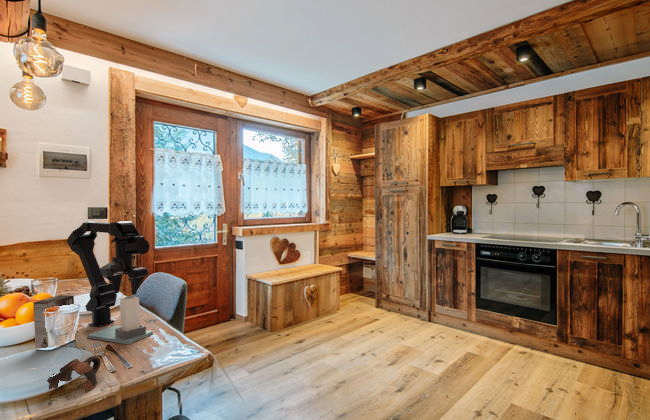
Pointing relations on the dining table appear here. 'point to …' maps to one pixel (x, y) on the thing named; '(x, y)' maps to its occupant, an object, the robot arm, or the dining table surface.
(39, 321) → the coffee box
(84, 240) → the robot arm
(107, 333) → the socket plate
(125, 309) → the block
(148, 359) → the dining table surface
